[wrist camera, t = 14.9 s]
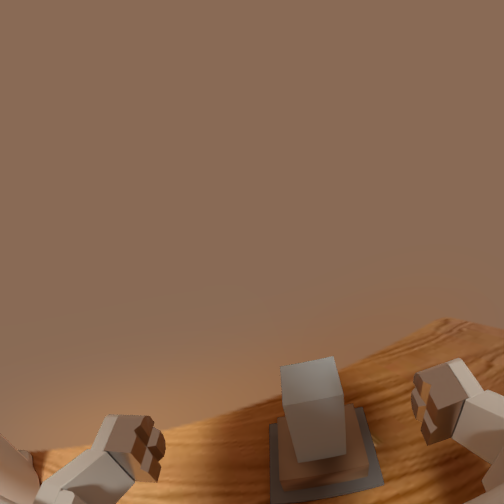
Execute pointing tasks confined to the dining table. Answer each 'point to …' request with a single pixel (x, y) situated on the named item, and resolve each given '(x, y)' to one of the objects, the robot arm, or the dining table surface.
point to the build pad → (283, 499)
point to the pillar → (314, 409)
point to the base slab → (322, 469)
